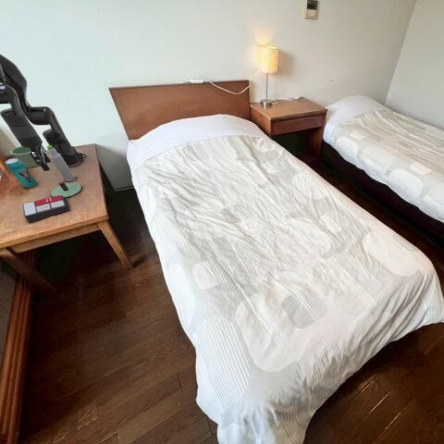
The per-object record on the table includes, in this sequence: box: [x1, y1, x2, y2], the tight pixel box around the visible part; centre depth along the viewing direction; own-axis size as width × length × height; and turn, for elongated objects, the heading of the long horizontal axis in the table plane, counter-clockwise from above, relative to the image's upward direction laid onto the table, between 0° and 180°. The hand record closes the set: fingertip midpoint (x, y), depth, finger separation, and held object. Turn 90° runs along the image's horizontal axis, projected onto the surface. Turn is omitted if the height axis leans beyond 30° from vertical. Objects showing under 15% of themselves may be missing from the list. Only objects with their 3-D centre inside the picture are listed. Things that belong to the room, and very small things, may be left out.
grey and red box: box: [22, 195, 70, 223], centre depth 119 cm, size 11×4×15 cm
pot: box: [9, 145, 41, 169], centre depth 146 cm, size 12×12×8 cm
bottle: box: [46, 144, 76, 182], centre depth 133 cm, size 4×4×20 cm
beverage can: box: [4, 157, 38, 189], centre depth 128 cm, size 6×6×15 cm
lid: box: [50, 181, 82, 199], centre depth 130 cm, size 13×13×6 cm
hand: (47, 166), depth 121 cm, fingers open, 8 cm apart
